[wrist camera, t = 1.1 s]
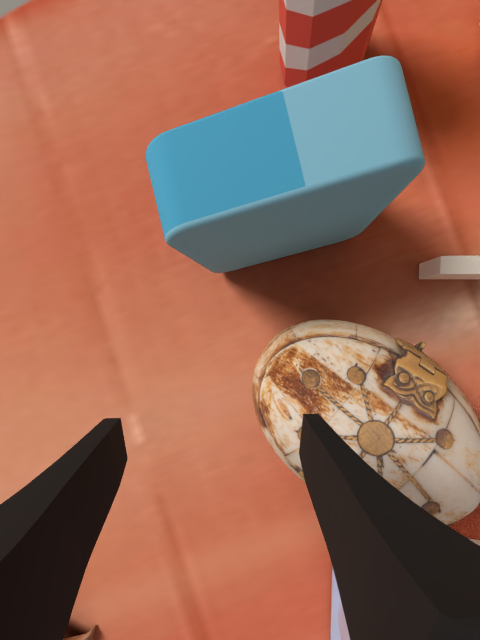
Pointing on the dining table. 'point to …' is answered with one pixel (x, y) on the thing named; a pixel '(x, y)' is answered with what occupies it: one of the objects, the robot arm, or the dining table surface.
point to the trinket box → (373, 410)
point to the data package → (287, 167)
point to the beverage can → (323, 36)
